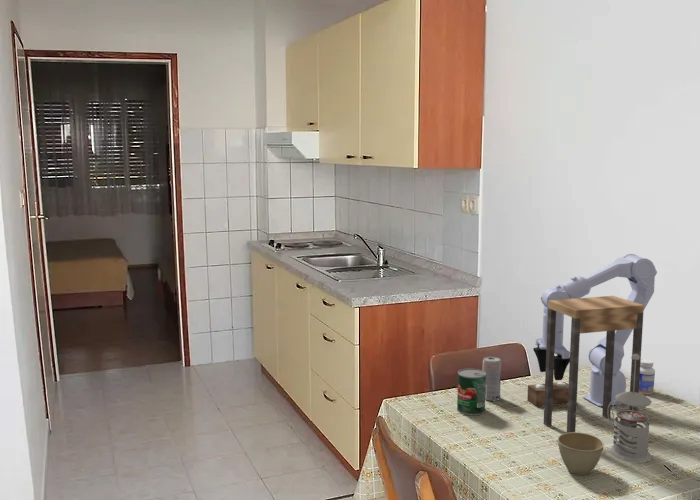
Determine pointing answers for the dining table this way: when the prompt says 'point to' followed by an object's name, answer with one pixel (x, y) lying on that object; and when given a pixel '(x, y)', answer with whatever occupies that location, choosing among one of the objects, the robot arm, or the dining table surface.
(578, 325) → the wood and metal stand
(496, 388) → the energy drink
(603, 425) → the dining table surface
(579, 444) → the flower pot
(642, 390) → the pill bottle
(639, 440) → the french press
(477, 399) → the canned tomato
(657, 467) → the dining table surface
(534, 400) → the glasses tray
